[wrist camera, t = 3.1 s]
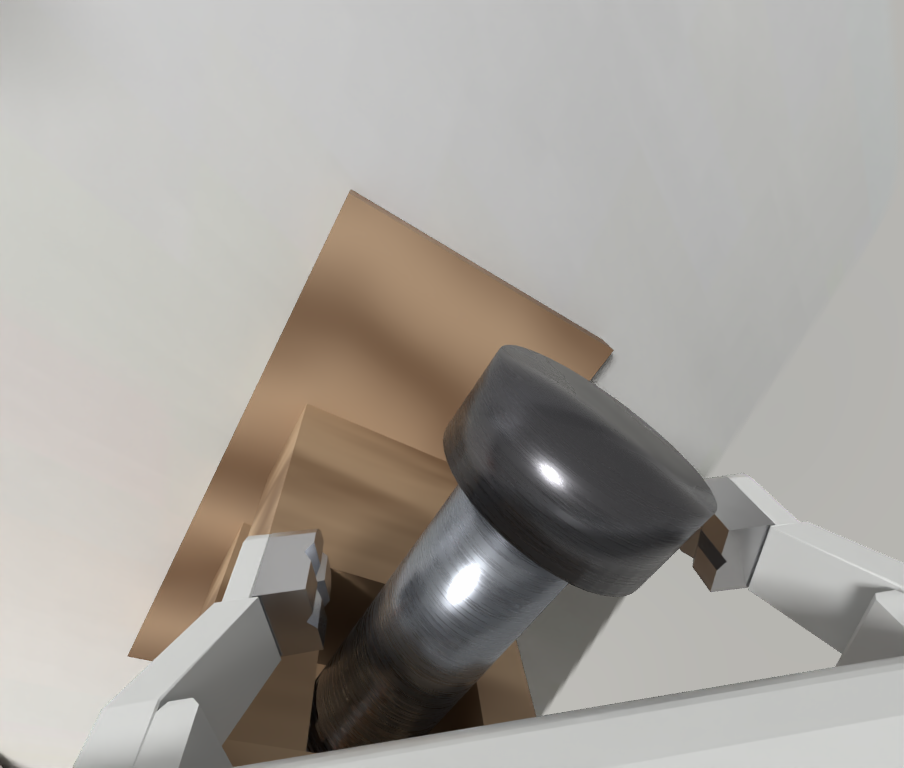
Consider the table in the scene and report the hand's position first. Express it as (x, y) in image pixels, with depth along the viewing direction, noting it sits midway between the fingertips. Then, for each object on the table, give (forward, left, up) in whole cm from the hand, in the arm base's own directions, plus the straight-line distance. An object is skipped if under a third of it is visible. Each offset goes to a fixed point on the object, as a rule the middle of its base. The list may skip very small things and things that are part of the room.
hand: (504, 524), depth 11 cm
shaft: (-9, 0, -2) cm, 9 cm away
